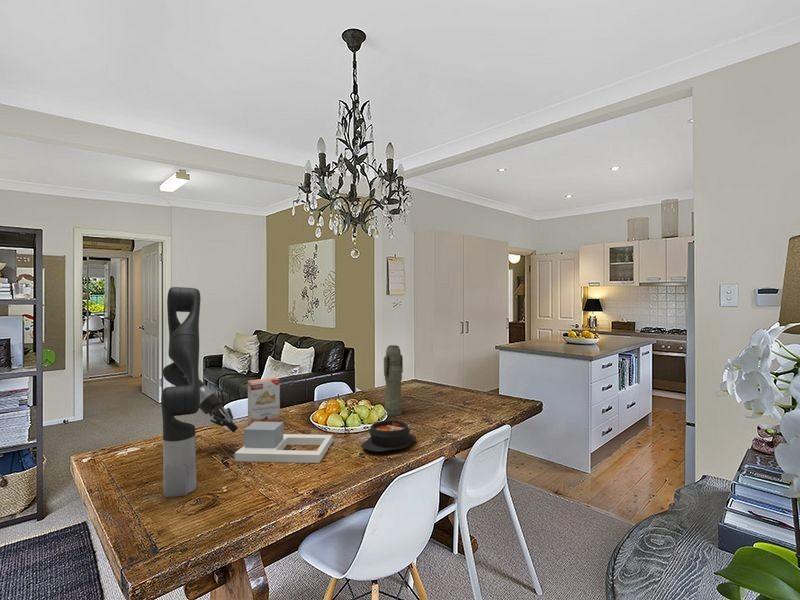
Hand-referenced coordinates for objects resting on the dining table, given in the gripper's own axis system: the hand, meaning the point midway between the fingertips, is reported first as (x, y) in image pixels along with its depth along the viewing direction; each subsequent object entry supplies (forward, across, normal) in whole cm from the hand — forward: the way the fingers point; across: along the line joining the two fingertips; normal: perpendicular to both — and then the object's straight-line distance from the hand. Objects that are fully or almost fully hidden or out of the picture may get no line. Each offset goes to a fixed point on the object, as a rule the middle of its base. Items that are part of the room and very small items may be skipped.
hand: (235, 430), depth 170 cm
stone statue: (+48, +54, -36) cm, 80 cm away
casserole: (+49, +8, -37) cm, 62 cm away
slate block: (+12, 0, -5) cm, 13 cm away
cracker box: (+4, +36, +8) cm, 37 cm away
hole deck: (+20, 0, -9) cm, 22 cm away
